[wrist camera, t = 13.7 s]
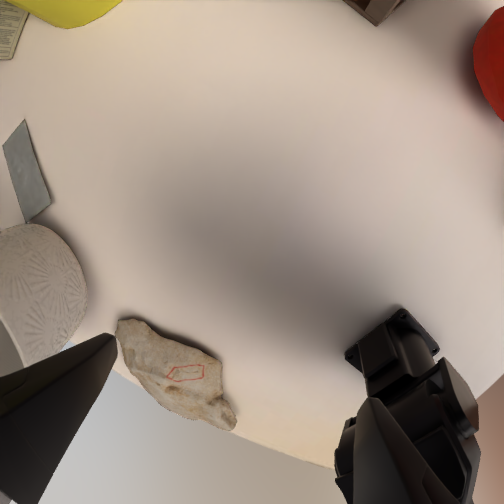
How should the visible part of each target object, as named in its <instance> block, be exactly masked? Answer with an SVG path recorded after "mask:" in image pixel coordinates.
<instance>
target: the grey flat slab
mask: <svg viewBox="0 0 504 504" xmlns="http://www.w3.org/2000/svg"><path fill="white" fill-rule="evenodd" d="M3 150H4V154H5V158H6V161H7V165H8V168H9V172H10V176H11V179H12V183H13V186H14V189H15V192H16V195H17V198H18V202H19V205H20V208H21V210H22V213H23V216H24V219H25V222H26V223H27V222H29V221H30V220H31V219H32V218H33V217H34V216H36V215H37V214H38V213H39V212H41V211H42V210H43V209H44V208H46V207H47V206H48V205H49V204H51V200H50V197H49V194H48V191H47V188H46V186H45V183H44V180H43V178H42V176H41V173H40V170H39V167H38V164H37V161H36V158H35V156H34V153H33V150H32V146H31V142H30V138H29V134H28V130H27V126H26V123H25V119H24V120H23V121H22V123H21V124H20V125H19V126H18V127H17V128H16V130H15V131H14V132H13V133H12V134H11V136H10V137H9V138H8V140H7V141H6V142H5V143H4V145H3Z"/></svg>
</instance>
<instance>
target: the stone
mask: <svg viewBox="0 0 504 504" xmlns="http://www.w3.org/2000/svg"><path fill="white" fill-rule="evenodd" d="M115 337H116V338H117V339H118V340H119V341H120V344H121V347H122V352H123V356H124V362H125V364H126V366H127V367H128V369H129V370H130V373H131V374H132V375H134V376H135V377H136V378H137V379H138V380H139V381H140V383H141V385H142V386H143V387H144V388H145V390H146V391H147V392H148V393H149V394H151V395H152V396H153V397H154V398H155V399H156V401H157V402H158V403H159V404H160V405H161V406H163V407H164V408H166V409H167V410H169V411H172V412H174V413H176V414H178V415H180V416H182V417H184V418H187V419H191V420H204V421H206V422H208V423H210V424H211V425H213V426H215V427H217V428H220V429H222V430H226V431H231V430H233V429H234V427H235V426H236V423H237V419H236V415H235V414H234V412H233V411H232V409H231V407H230V404H229V403H228V402H227V401H226V400H223V399H222V398H221V394H223V387H222V382H221V373H222V363H221V362H220V361H219V360H217V359H215V358H212V357H210V356H208V355H206V354H204V353H203V352H202V351H200V350H199V349H197V348H193V347H189V346H186V345H183V344H181V343H179V342H176V341H174V340H169V339H166V338H163V337H161V336H159V335H158V334H157V333H156V332H155V331H153V330H152V329H151V328H150V327H149V326H148V325H147V324H146V323H145V322H143V321H137V320H135V319H134V318H132V319H129V320H118V326H117V330H116V332H115Z"/></svg>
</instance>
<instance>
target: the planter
mask: <svg viewBox="0 0 504 504" xmlns="http://www.w3.org/2000/svg"><path fill="white" fill-rule="evenodd" d="M86 307H87V287H86V282H85V278H84V275H83V272H82V269H81V267H80V265H79V262H78V260H77V259H76V257H75V255H74V253H73V252H72V250H71V249H70V248H69V246H68V245H67V244H66V243H65V242H64V241H63V239H62V238H61V237H59V236H58V235H57V234H56V233H55V232H53V231H52V230H50V229H48V228H46V227H44V226H42V225H38V224H22V225H17V226H14V227H11V228H8V229H5V230H2V231H0V377H2V376H5V375H8V374H10V373H13V372H15V371H18V370H20V369H23V368H25V367H29V366H30V365H32V364H34V363H37V362H39V361H41V360H44V359H46V358H48V357H50V356H53V355H55V354H57V353H59V352H60V350H61V349H62V348H63V347H64V345H65V344H66V343H67V342H68V340H69V339H70V338H71V336H72V335H73V334H74V332H75V331H76V329H77V328H78V326H79V325H80V323H81V321H82V319H83V317H84V314H85V311H86Z"/></svg>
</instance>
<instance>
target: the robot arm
mask: <svg viewBox="0 0 504 504" xmlns="http://www.w3.org/2000/svg"><path fill="white" fill-rule="evenodd" d="M402 314H405V315H404V316H402V317H400V316H401V315H402ZM433 349H434V350H433ZM439 350H440V348H439V346H438V344H437V343H436V342H435V341H434V340H433V339H432V337H431V336H430V335H429V334H428V333H427V332H426V331H425V330H424V328H423V327H422V326H421V325H420V324H419V323H418V322H417V321H416V320H415V318H414V317H413V316H412V315H411V314H410V313H409V312H408V311H407V310H406V309H400V310H399V311H397V312H396V313H395V314H394V315H392V316H391V317H390V318H389V319H388V320H386V321H385V322H384V323H383V324H381V325H380V326H378V327H377V328H376V329H375V330H373V331H372V332H371V333H369V334H368V335H367V336H365V337H364V338H363V339H362V340H360V341H359V342H358V343H357V344H355V345H354V346H353V347H351V348H350V349H349V350H347V351H346V352H345V354H344V355H345V360H346V361H348V362H349V363H350V364H351V365H353V366H354V367H355V368H356V369H358V370H359V371H360V372H362V373H363V376H364V378H365V383H366V389H367V396H368V398H367V399H366V400H365V401H364V403H363V404H362V406H361V407H360V409H359V411H358V413H357V416H356V417H354V418H353V417H352V418H350V419H348V420H346V422H345V425H344V429H343V432H342V436H341V439H340V443H339V446H338V448H337V449H336V450H335V453H334V456H335V464H334V466H335V471H336V474H337V478H335V482H336V484H337V485H338V487H339V488H340V490H341V491H342V493H343V495H344V497H345V499H346V501H347V504H474V503H473V500H472V494H473V491H474V486H475V482H476V477H477V472H478V467H479V462H480V455H481V451H480V448H479V446H478V443H477V441H476V438H475V436H474V433H476V432H477V431H478V430H479V416H478V404H477V402H476V400H475V398H474V396H473V394H472V392H471V390H470V388H469V386H468V384H467V383H466V382H465V380H464V379H463V378H462V377H461V376H460V374H459V373H458V372H457V371H456V370H455V369H454V367H453V366H452V365H451V364H450V363H449V362H448V360H447V359H446V358H445V357H442V358H441V359H440V360H439V361H438V363H437V364H435V362H434V360H433V358H432V357H433V356H434V355H436V354H437V353H438V352H439ZM117 355H118V350H117V342H116V337H115V336H114V335H111V334H109V333H102V334H100V335H98V336H96V337H93V338H91V339H89V340H87V341H84V342H82V343H80V344H78V345H75V346H73V347H71V348H69V349H66V350H64V351H62V352H60V353H57V354H55V355H53V356H50V357H48V358H46V359H44V360H41V361H39V362H37V363H34V364H32V365H30V366H29V367H25V368H23V369H20V370H18V371H15V372H13V373H10V374H8V375H5V376H2V377H0V504H9V503H10V501H11V500H13V501H15V502H16V503H17V504H38V502H39V500H40V498H41V496H42V495H43V493H44V491H45V489H46V487H47V485H48V483H49V481H50V479H51V477H52V476H53V473H54V472H55V470H56V468H57V466H58V464H59V463H60V461H61V459H62V457H63V455H64V454H65V452H66V450H67V448H68V446H69V445H70V443H71V441H72V440H73V438H74V436H75V434H76V433H77V431H78V429H79V427H80V426H81V424H82V422H83V421H84V419H85V417H86V416H87V414H88V412H89V410H90V409H91V407H92V405H93V404H94V402H95V401H96V399H97V397H98V396H99V394H100V392H101V390H102V388H103V386H104V384H105V382H106V380H107V377H108V375H109V373H110V371H111V369H112V367H113V365H114V363H115V361H116V358H117ZM349 355H352V356H349Z"/></svg>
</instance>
